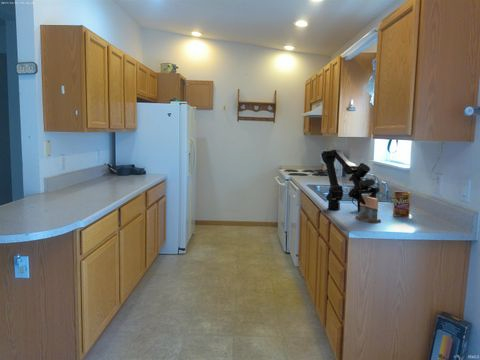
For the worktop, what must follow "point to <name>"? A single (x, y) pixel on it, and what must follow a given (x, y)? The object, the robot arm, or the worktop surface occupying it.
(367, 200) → the tan wooden block
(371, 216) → the ticket stand
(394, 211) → the candy box
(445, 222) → the worktop surface
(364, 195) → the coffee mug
